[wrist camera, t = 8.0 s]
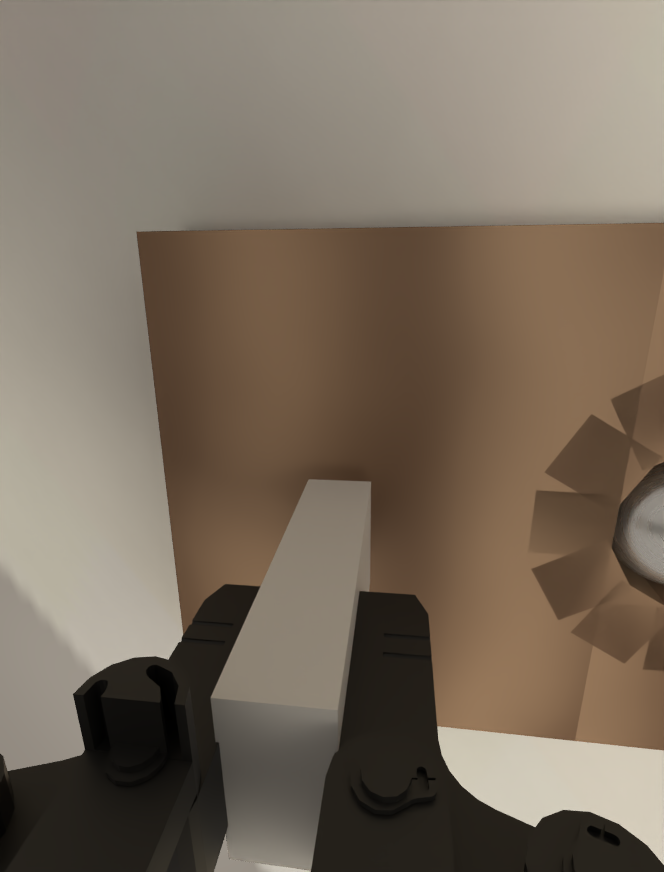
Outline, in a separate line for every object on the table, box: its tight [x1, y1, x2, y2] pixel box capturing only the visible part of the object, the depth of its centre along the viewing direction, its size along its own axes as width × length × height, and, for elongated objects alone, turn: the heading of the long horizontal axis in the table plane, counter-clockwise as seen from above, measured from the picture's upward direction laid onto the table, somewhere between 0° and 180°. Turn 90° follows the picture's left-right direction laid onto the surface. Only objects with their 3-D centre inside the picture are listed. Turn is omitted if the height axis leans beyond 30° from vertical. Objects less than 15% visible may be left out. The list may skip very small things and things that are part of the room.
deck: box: [137, 223, 664, 750], centre depth 14 cm, size 20×14×2 cm
